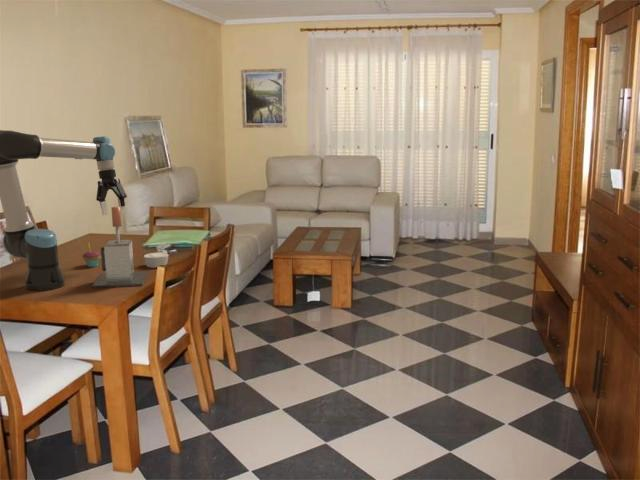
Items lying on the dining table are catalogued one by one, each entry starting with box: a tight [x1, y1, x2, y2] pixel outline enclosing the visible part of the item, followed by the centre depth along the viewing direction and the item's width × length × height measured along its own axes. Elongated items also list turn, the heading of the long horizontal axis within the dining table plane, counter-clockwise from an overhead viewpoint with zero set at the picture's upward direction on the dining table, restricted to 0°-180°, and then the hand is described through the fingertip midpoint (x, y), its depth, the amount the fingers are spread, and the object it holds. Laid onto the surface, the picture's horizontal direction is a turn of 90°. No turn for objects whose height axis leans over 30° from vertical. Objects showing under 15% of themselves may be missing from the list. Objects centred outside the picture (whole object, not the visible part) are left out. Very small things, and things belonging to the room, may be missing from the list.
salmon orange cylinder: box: [111, 206, 123, 243], centre depth 259 cm, size 4×4×24 cm
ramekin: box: [143, 252, 169, 269], centre depth 289 cm, size 11×11×5 cm
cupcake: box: [81, 242, 102, 268], centre depth 288 cm, size 9×8×12 cm
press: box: [91, 239, 148, 289], centre depth 261 cm, size 20×20×17 cm
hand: (114, 214), depth 290 cm, fingers open, 13 cm apart
